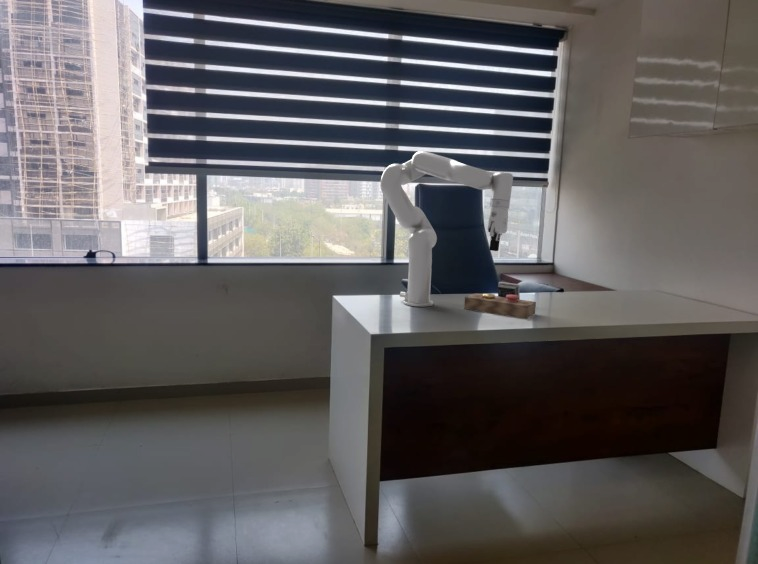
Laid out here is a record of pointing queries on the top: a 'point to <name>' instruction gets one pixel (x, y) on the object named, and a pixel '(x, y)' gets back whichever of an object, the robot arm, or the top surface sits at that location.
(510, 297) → the oxblood plug
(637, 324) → the top surface
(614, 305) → the top surface
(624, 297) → the top surface
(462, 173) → the robot arm
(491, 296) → the brass plug
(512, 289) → the electrical switch
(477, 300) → the plug block
